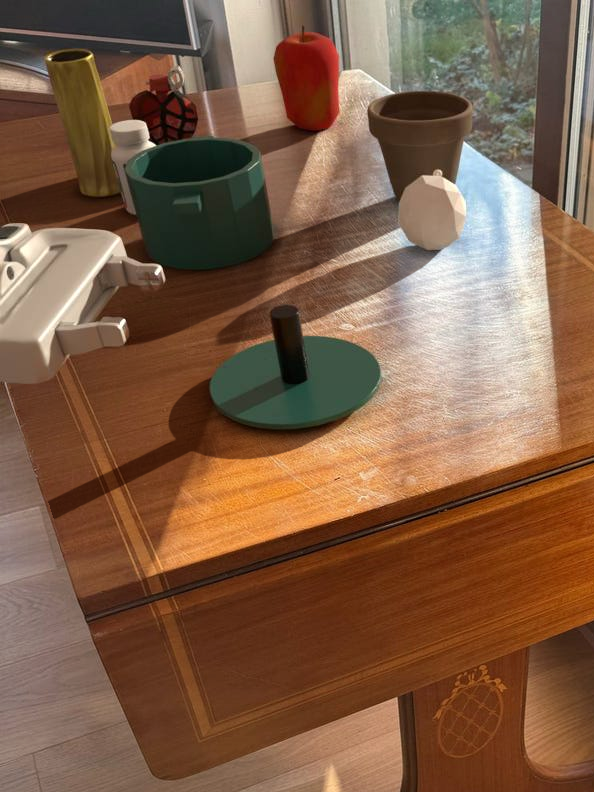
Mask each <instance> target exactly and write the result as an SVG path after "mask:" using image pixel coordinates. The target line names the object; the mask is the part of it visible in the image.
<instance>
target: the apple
mask: <svg viewBox="0 0 594 792" xmlns="http://www.w3.org/2000/svg"><path fill="white" fill-rule="evenodd" d="M273 64H274V70H275V74H276V78H277V81H278V84H279V88H280V92H281V96H282V100H283V104H284V108H285V114H286V118H287V119H288V120H289V121H290V122H291V123H293V124H294V125H295V126H296V127H298V128H300V129H303V130H305V131H314V132H315V131H323V130H327V129H329V128H331V127H332V126H333V125H334V123H335V121H336V120H337V118H338V116H339V114H340V113H341V111H340V97H339V82H340V81H339V79H340V55H339V54H338V50H337V49H336V46H335V44H334V42H333V41H332V39H330V38H329V37H327V36H324V35H323V34H320V33H318V32H313V31H305V26H304V25H303V24H301V32H299V33H295V34H293V35H289V36H288V37H286V38H284V39H283V40H281V41H280V42H279V43H277V45H276V47H275V50H274V54H273Z"/></svg>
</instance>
